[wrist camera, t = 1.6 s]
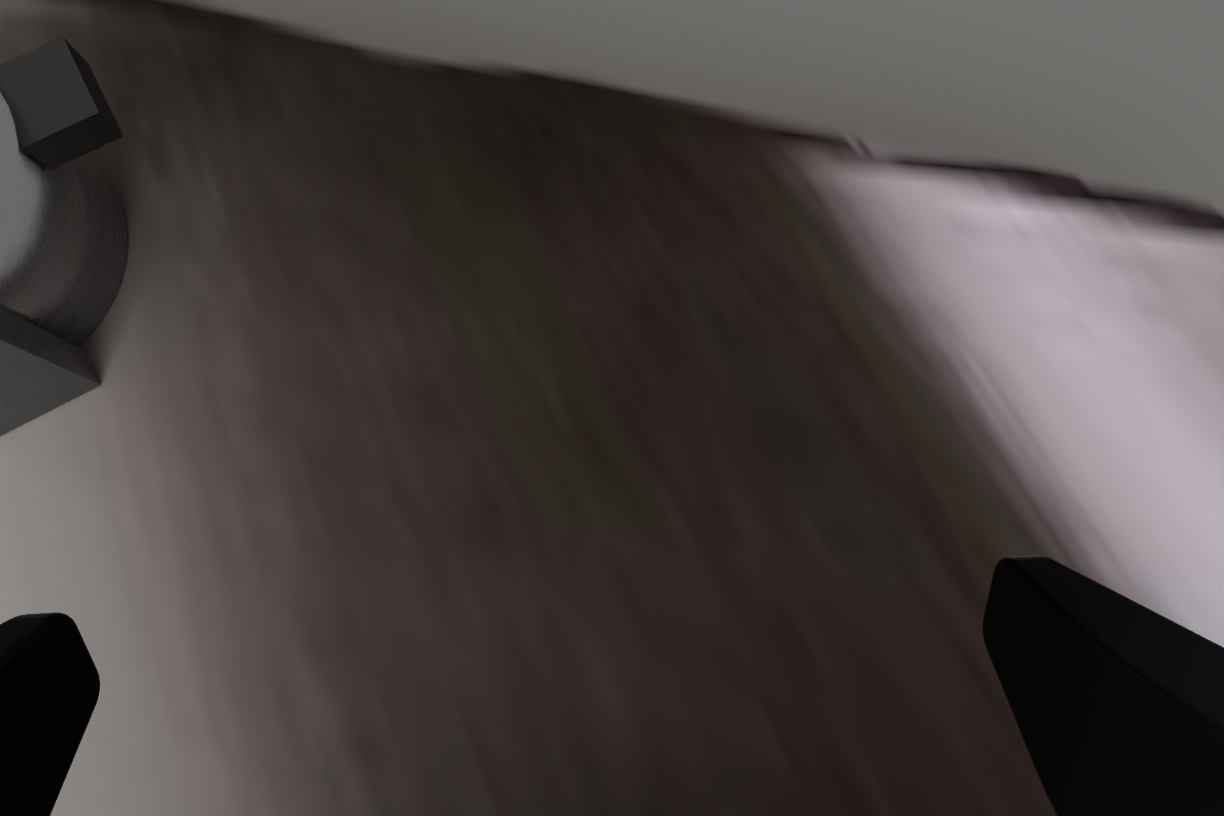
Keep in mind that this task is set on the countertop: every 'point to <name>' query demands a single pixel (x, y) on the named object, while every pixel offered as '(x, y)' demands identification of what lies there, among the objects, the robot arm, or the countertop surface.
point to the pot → (53, 230)
